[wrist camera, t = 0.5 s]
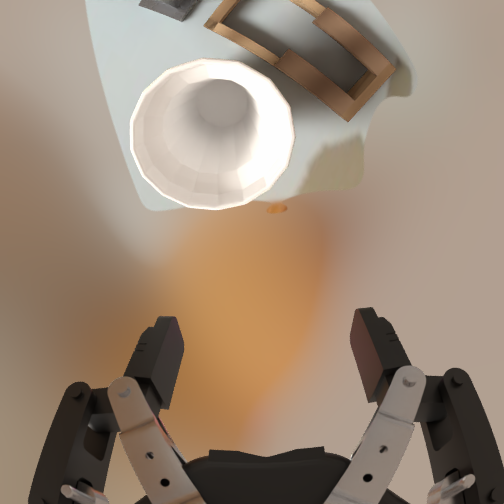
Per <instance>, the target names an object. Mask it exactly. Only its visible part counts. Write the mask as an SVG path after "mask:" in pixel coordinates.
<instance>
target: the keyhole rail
mask: <svg viewBox="0 0 504 504" xmlns="http://www.w3.org/2000/svg"><path fill="white" fill-rule="evenodd" d="M239 1H240V0H223V2H222V3H221V4H220V5H219V6H218V8H217V9H216V10H215V11H214V13H213V14H212V15H211V16H210V18H209V19H208V20H207V22H206V23H205V24H204V27H206V28H207V29H210V30H212V31H214V32H216V33H218V34H219V35H221V36H223V37H225V38H227V39H229V40H231V41H233V42H234V43H236V44H238V45H240V46H242V47H243V48H245V49H247V50H248V51H250V52H252V53H253V54H255V55H257V56H258V57H260V58H262V59H263V60H265V61H266V62H268V63H269V64H271V65H273V66H274V67H276V68H277V69H279V70H280V71H282V72H283V73H284V74H286V75H287V76H289V77H290V78H292V79H293V80H294V81H296V82H297V83H299V84H300V85H301V86H303V87H304V88H305V89H307V90H308V91H309V92H311V93H312V94H313V95H315V96H316V97H317V98H318V99H320V100H321V101H322V102H323V103H325V104H326V105H327V106H328V107H330V108H331V109H332V110H333V111H334V112H336V113H337V114H338V115H339V116H340V117H342V118H343V119H344V120H346V121H347V122H349V121H350V120H351V119H352V117H353V116H354V115H355V114H356V113H357V112H358V111H359V110H360V109H361V107H362V106H363V105H364V104H365V103H366V102H367V101H368V100H369V99H370V98H371V96H372V95H373V94H374V93H375V92H376V91H377V90H378V89H379V88H380V87H381V85H382V84H383V83H384V82H385V81H386V80H387V79H388V78H389V77H390V76H391V75H392V73H393V72H394V71H395V70H396V68H395V67H394V66H393V65H392V64H391V63H390V62H389V61H388V60H387V59H386V58H385V57H384V56H383V55H382V54H381V53H380V52H379V51H378V50H377V49H376V48H375V47H374V46H373V45H372V44H371V43H370V42H369V41H368V40H367V39H366V38H365V37H364V36H362V35H361V34H360V33H359V32H358V31H357V30H356V29H355V28H353V27H352V26H351V25H350V24H349V23H348V22H346V21H345V20H344V19H343V18H341V17H340V16H339V15H338V14H336V13H335V12H334V11H333V10H331V9H330V8H329V7H327V8H325V7H323V6H322V5H320V4H319V3H318V2H316V1H315V0H290V1H291V2H293V3H295V4H296V5H298V6H299V7H301V8H302V9H304V10H305V11H307V12H308V13H309V14H311V15H312V16H314V17H315V18H316V19H315V20H314V21H313V22H312V23H313V24H315V25H316V26H317V27H319V28H320V29H321V30H323V31H324V32H325V33H327V34H328V35H329V36H330V37H332V38H333V39H334V40H335V41H337V42H338V43H339V44H340V45H342V46H343V47H344V48H345V49H346V50H347V51H349V52H350V53H351V54H352V55H353V56H354V57H355V58H356V59H357V60H359V61H360V62H361V63H362V64H363V65H364V66H365V67H366V68H367V69H368V70H367V71H366V73H365V74H364V75H363V76H362V77H361V78H360V79H359V80H358V81H357V82H356V84H355V85H354V86H353V87H352V88H351V89H350V90H349V91H348V92H347V93H345V92H344V91H343V90H342V89H341V88H340V87H338V86H337V85H336V84H335V83H334V82H333V81H331V80H330V79H329V78H328V77H326V76H325V75H324V74H323V73H321V72H320V71H319V70H318V69H316V68H315V67H314V66H312V65H311V64H310V63H308V62H307V61H306V60H304V59H303V58H302V57H300V56H299V55H297V54H296V53H295V52H293V51H292V50H290V49H288V50H287V51H286V52H285V53H284V55H283V56H282V57H281V58H279V57H278V56H276V55H275V54H273V53H272V52H270V51H268V50H267V49H265V48H264V47H262V46H260V45H259V44H257V43H255V42H254V41H252V40H250V39H249V38H247V37H245V36H243V35H242V34H240V33H238V32H236V31H234V30H233V29H231V28H229V27H227V26H225V25H223V24H221V23H222V22H223V21H224V19H225V18H226V17H227V16H228V15H229V13H230V12H231V11H232V10H233V8H234V7H235V6H236V5H237V4H238V3H239Z"/></svg>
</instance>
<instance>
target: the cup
mask: <svg viewBox="0 0 504 504" xmlns="http://www.w3.org/2000/svg"><path fill="white" fill-rule="evenodd" d="M295 138H296V136H295V130H294V124H293V118H292V112H291V107H290V105H289V103H288V102H287V101H286V99H285V98H284V96H283V95H282V94H281V92H280V91H279V90H278V88H277V87H276V86H275V84H274V83H273V82H272V80H271V79H270V78H268V77H266V76H265V75H263V74H261V73H260V72H258V71H256V70H255V69H253V68H251V67H249V66H248V65H246V64H244V63H242V62H240V61H235V60H226V59H213V58H200V59H197V60H193V61H190V62H187V63H184V64H181V65H178V66H175V67H172V68H169V69H167V70H166V71H165V72H164V73H163V74H162V75H160V76H159V77H158V78H157V79H156V80H155V81H154V82H153V83H152V84H151V85H150V86H148V87H147V88H146V89H145V90H144V91H143V93H142V95H141V97H140V99H139V101H138V103H137V106H136V108H135V110H134V112H133V115H132V117H131V119H130V149H131V152H132V154H133V157H134V159H135V161H136V164H137V166H138V168H139V170H140V173H141V175H142V176H143V177H144V178H145V179H146V180H147V181H148V182H149V183H150V184H151V185H152V186H153V187H154V188H155V189H156V190H157V191H158V192H159V193H160V194H161V195H162V196H165V197H167V198H169V199H171V200H173V201H175V202H178V203H180V204H182V205H184V206H186V207H188V208H199V209H209V210H220V209H225V208H230V207H235V206H239V205H244V204H247V203H248V202H250V201H252V200H253V199H255V198H256V197H258V196H260V195H261V194H263V193H265V192H266V191H268V190H269V189H271V187H272V186H273V185H274V184H275V182H276V181H277V180H278V179H279V177H280V176H281V175H282V173H283V172H284V171H285V170H286V168H287V167H288V166H289V162H290V158H291V154H292V150H293V146H294V142H295Z"/></svg>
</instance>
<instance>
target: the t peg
mask: <svg viewBox="0 0 504 504" xmlns="http://www.w3.org/2000/svg"><path fill="white" fill-rule="evenodd" d="M197 1H198V0H142V1H141V2H140V3H139V6H142V7H145V8H148V9H150V10H153V11H156V12H159V13H161V14H164V15H166V16H169V17H171V18H174V19H176V20H179V21H181V22H182V21H183V20H184V18H185V17H186V16H187V14H188V13H189V12H190V10H191V9H192V8H193V6H194V5H195V4H196V3H197Z"/></svg>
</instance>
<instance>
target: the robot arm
mask: <svg viewBox="0 0 504 504" xmlns="http://www.w3.org/2000/svg"><path fill="white" fill-rule="evenodd" d="M350 344H351V348H352V350H353V354H354V357H355V360H356V363H357V366H358V370H359V373H360V376H361V379H362V383H363V386H364V390H365V393H366V397H367V400H368V403H370V402H377V405H378V408H377V410H376V412H375V414H374V416H373V418H372V419H371V422H370V423H369V426H368V427H367V429H366V431H365V433H364V434H363V436H362V438H361V440H360V442H359V443H358V445H357V446H356V448H355V450H354V451H353V453H352V454H351V456H350V458H349V459H347V458H345V457H343V456H340V455H337V454H333V453H327V452H325V451H324V446H322V447H314V448H304V449H295V450H292V451H289V452H285V453H281V454H278V455H274V456H270V457H262V456H257V455H253V454H248V453H244V452H240V451H224V450H209V456H204V457H200V458H197V459H194V460H192V461H190V462H187V461H186V459H185V458H184V456H183V455H182V454H181V452H180V451H179V450H178V448H177V446H176V445H175V443H174V442H173V440H172V438H171V436H170V435H169V433H168V431H167V430H166V428H165V426H164V425H163V423H162V421H161V419H160V417H159V416H158V415H159V412H160V409H167V410H168V409H169V406H170V402H171V398H172V394H173V391H174V387H175V383H176V379H177V375H178V372H179V368H180V364H181V360H182V357H183V353H184V341H183V338H182V334H181V331H180V328H179V325H178V322H177V319H176V317H173V316H159V317H158V319H157V321H156V323H155V326H154V327H148V328H147V329H146V330H145V331H144V332H143V333H142V335H141V337H140V339H139V341H138V344H137V345H136V348H135V351H134V352H133V354H132V357H131V359H130V361H129V364H128V366H127V368H126V371H125V373H124V376H123V377H120V378H117V379H115V380H114V381H113V382H112V383H111V384H110V386H109V387H107V388H99V389H91V388H90V387H89V385H88V384H86V383H84V382H75V383H73V384H71V385H70V386H69V387H68V388H67V389H66V391H65V393H64V396H63V398H62V400H61V402H60V405H59V407H58V410H57V412H56V415H55V417H54V420H53V422H52V425H51V427H50V430H49V432H48V435H47V438H46V441H45V444H44V446H43V450H42V452H41V455H40V459H39V462H38V465H37V468H36V472H35V475H34V478H33V482H32V486H31V490H30V494H29V498H28V504H109V501H108V499H107V498H106V496H105V495H104V494H103V491H104V486H105V481H106V476H107V471H108V467H109V462H110V458H111V454H112V450H113V446H114V442H115V438H116V434H117V432H121V433H120V434H119V437H120V440H121V442H122V445H123V447H124V450H125V452H126V454H127V456H128V458H129V461H130V463H131V465H132V467H133V469H134V471H135V473H136V475H137V477H138V479H139V481H140V483H141V485H142V486H143V489H144V490H145V492H146V494H147V495H145V496H144V497H143V498H142V499H140V500H139V501H137V502H136V503H135V504H410V503H408V502H407V501H405V500H404V499H402V498H400V497H399V496H398V495H396V494H395V493H393V492H392V491H391V490H389V489H388V488H387V487H388V485H389V483H390V482H391V480H392V478H393V476H394V474H395V471H396V470H397V468H398V466H399V464H400V461H401V459H402V457H403V455H404V453H405V450H406V448H407V446H408V443H409V441H410V438H411V436H412V433H413V431H414V427H415V426H414V424H413V422H420V423H421V427H422V431H423V435H424V438H425V442H426V446H427V450H428V455H429V459H430V463H431V468H432V473H433V478H434V483H435V485H433V487H432V488H431V489H430V491H429V493H428V497H427V504H504V467H503V464H502V460H501V456H500V453H499V450H498V447H497V444H496V440H495V438H494V435H493V432H492V429H491V426H490V424H489V421H488V419H487V416H486V413H485V411H484V409H483V406H482V403H481V401H480V399H479V397H478V394H477V392H476V390H475V388H474V386H473V383H472V381H471V379H470V377H469V375H468V374H467V373H466V372H465V371H464V370H462V369H460V368H451V369H449V370H448V371H446V373H445V374H444V376H427V375H424V373H423V372H422V371H421V370H420V369H419V368H417V367H414V366H412V365H411V363H410V361H409V359H408V357H407V355H406V353H405V350H404V349H403V346H402V344H401V342H400V341H399V339H398V337H397V334H395V331H394V329H393V326H392V325H391V323H390V322H388V321H387V320H386V319H385V318H384V317H379V318H378V316H377V314H376V312H375V311H374V309H373V308H372V307H369V308H359V309H356V310H355V314H354V318H353V323H352V328H351V333H350Z"/></svg>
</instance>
